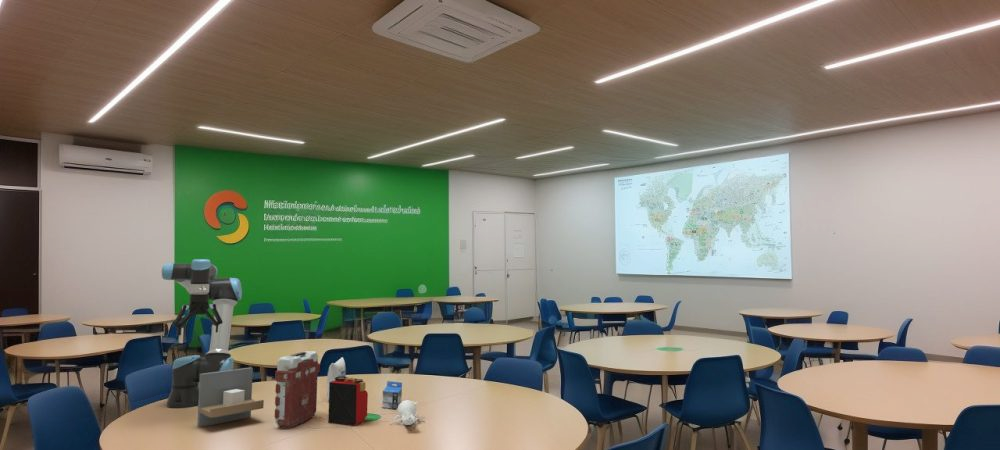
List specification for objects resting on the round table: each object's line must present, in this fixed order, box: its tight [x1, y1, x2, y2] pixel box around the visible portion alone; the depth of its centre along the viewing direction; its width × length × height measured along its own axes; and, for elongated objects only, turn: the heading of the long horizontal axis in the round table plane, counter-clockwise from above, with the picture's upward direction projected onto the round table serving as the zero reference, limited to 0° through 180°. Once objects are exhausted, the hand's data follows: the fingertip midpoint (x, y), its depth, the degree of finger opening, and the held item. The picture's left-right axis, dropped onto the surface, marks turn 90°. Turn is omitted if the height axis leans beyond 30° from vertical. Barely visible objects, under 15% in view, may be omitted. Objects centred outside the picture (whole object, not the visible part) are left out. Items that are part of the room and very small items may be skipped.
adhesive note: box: [223, 389, 245, 406], centre depth 244 cm, size 6×6×6 cm
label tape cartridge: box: [381, 380, 403, 410], centre depth 272 cm, size 9×4×12 cm, turn 68°
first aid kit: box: [274, 350, 321, 429], centre depth 247 cm, size 23×8×30 cm, turn 168°
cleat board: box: [196, 366, 265, 428], centre depth 243 cm, size 14×22×22 cm, turn 138°
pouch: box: [326, 356, 347, 401], centre depth 291 cm, size 8×19×20 cm, turn 177°
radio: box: [327, 376, 369, 426], centre depth 248 cm, size 16×10×20 cm, turn 71°
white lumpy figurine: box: [389, 399, 425, 426], centre depth 244 cm, size 11×16×25 cm
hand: (197, 341), depth 249 cm, fingers open, 13 cm apart
